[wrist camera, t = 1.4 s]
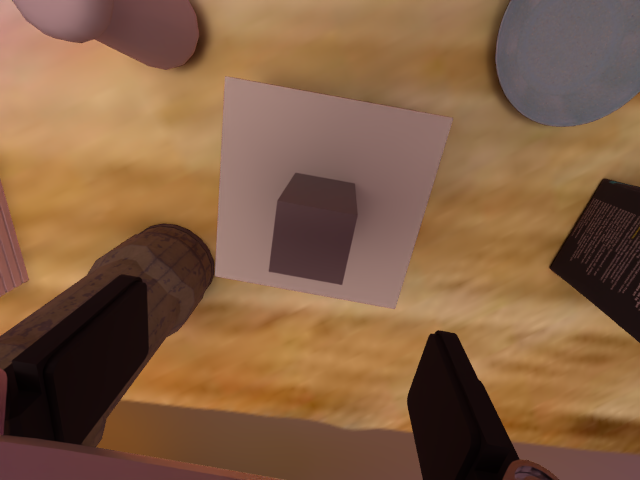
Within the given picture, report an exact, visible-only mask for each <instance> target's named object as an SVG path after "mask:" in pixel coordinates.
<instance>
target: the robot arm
mask: <svg viewBox="0 0 640 480" xmlns="http://www.w3.org/2000/svg"><path fill="white" fill-rule="evenodd" d="M148 351H149V335H148V303H147V285H146V283H144V282H142V279H141V278H140V277H136V276H130V275H125V274H121V275H119V276H118V277H116V278H115V279H114V280H113V281H111V282H110V283H109V284H108V285H106V286H105V287H104V288H103V289H101V290H100V291H99V292H97V293H96V294H95V295H94V296H92V297H91V298H90V299H89V300H87V301H86V302H85V303H84V304H82V305H81V306H80V307H79V308H77V309H76V310H75V311H73V312H72V313H71V314H70V315H68V316H67V317H66V318H65V319H63V320H62V321H61V322H60V323H58V324H57V325H56V326H55V327H53V328H52V329H51V330H50V331H48V332H47V333H46V334H44V335H43V336H42V337H41V338H39V339H38V340H37V341H36V342H34V343H33V344H32V345H31V346H29V347H28V348H27V349H26V350H24V351H23V352H22V353H20V354H19V355H18V356H17V357H15V358H14V359H13V360H12V363H11V364H10V365H9V366H7V367H6V368H5V369H4V370H2V369H1V368H0V480H283V479H277V478H271V477H265V476H260V475H255V474H249V473H243V472H237V471H232V470H226V469H220V468H214V467H209V466H202V465H196V464H191V463H186V462H180V461H174V460H168V459H162V458H155V457H150V456H144V455H138V454H132V453H125V452H120V451H114V450H108V449H102V448H96V447H90V446H83V445H81V443H82V442H83V441H84V439H85V438H86V437H87V435H88V434H89V433H90V432H91V430H92V429H93V428H94V426H95V425H96V424H97V422H98V421H99V420H100V418H101V417H102V416H103V414H104V413H105V412H106V410H107V409H108V408H109V406H110V405H111V404H112V402H113V401H114V400H115V399H116V397H117V396H118V395H119V393H120V392H121V391H122V389H123V388H124V387H125V385H126V384H127V383H128V381H129V380H130V379H131V377H132V376H133V375H134V373H135V372H136V371H137V369H138V368H139V367H140V365H141V364H142V363H143V362H144V360H145V359H146V357H147V354H148ZM407 405H408V410H409V415H410V420H411V425H412V430H413V434H414V439H415V444H416V449H417V453H418V458H419V463H420V468H421V472H422V477H423V480H559V479H558V478H557V477H556V476H555V475H554V474H552V473H551V472H550V471H549V470H547V469H546V468H544V467H542V466H541V465H539V464H537V463H534V462H531V461H529V460H520V459H519V457H518V455H517V453H516V451H515V449H514V447H513V445H512V443H511V441H510V439H509V437H508V435H507V432H506V430H505V428H504V426H503V424H502V422H501V420H500V418H499V416H498V414H497V412H496V410H495V408H494V406H493V404H492V402H491V400H490V398H489V396H488V394H487V392H486V390H485V387H484V385H483V384H482V382H481V381H479V380H478V378H477V376H476V374H475V371H474V369H473V367H472V365H471V363H470V361H469V359H468V357H467V355H466V353H465V351H464V349H463V347H462V344H461V342H460V340H459V338H458V336H457V335H456V334H455V333H450V332H445V331H439V330H438V331H436V332H435V334H430V335H429V337H428V340H427V343H426V346H425V348H424V351H423V354H422V357H421V360H420V362H419V365H418V368H417V371H416V374H415V376H414V379H413V382H412V385H411V388H410V390H409V393H408V398H407Z"/></svg>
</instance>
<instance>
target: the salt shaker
mask: <svg viewBox="0 0 640 480" xmlns="http://www.w3.org/2000/svg"><path fill="white" fill-rule="evenodd" d="M12 1H13V2H14V4H15V5H16V7H17V8H18V9H19V11H20V12H21V14H22V15H23V17H24V18H25V19H26V20H27V21H28V22H29V23H30V24H32V25H33V26H34V27H36V28H37V29H38V30H40V31H41V32H42V33H44V34H46V35H48V36H51V37H53V38H56V39H61V40H65V41H70V42H77V43H83V42H87V41H90V40H93V39H95V40H97V41H99V42H101V43H103V44H105V45H107V46H109V47H111V48H113V49H115V50H117V51H119V52H121V53H123V54H125V55H127V56H129V57H131V58H133V59H135V60H137V61H140V62H142V63H144V64H146V65H148V66H151V67H155V68H160V69H164V70H167V69H171V68H174V67H178V66H181V65H184V64H185V63H186V62H187V61H188V59H189V58H190V57H191V56H192V55H193V54H194V52H195V49H196V45H197V42H198V38H199V29H198V22H197V16H196V13H195V11H194V10H193V8H192V6H191V4H190V2H189V0H12Z"/></svg>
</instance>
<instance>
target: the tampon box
mask: <svg viewBox="0 0 640 480" xmlns="http://www.w3.org/2000/svg"><path fill="white" fill-rule="evenodd" d="M550 269H551V270H552V271H553V272H555V273H556V274H557V275H559V276H560V277H561V278H562V279H564V280H565V281H566V282H568V283H569V284H570V285H571V286H572V287H574V288H575V289H576V290H577V291H578V292H580V293H581V294H582V295H583V296H585V297H586V298H587V299H588V300H589V301H591V302H592V303H593V304H594V305H595V306H597V307H598V308H599V309H600V310H601V311H603V312H604V313H605V314H606V315H607V316H609V317H610V318H611V319H612V320H613V321H614V322H616V323H617V324H618V325H619V326H620V327H622V328H623V329H624V330H625V331H626V332H628V333H629V334H630V335H631V336H632V337H634V338H635V339H636V340H637V341H638V342H639V343H640V187H637V186H633V185H629V184H625V183H621V182H616V181H612V180H608V179H604V180H603V181H602V183H601V184H600V186H599V188H598V189H597V191H596V193H595V194H594V196H593V198H592V199H591V201H590V203H589V204H588V206H587V208H586V209H585V211H584V213H583V214H582V216H581V218H580V219H579V221H578V223H577V224H576V226H575V227H574V229H573V231H572V232H571V234H570V236H569V237H568V239H567V241H566V242H565V244H564V246H563V247H562V249H561V251H560V252H559V254H558V256H557V257H556V259H555V261H554V262H553V264H552V266H551V267H550Z"/></svg>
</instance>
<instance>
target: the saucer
mask: <svg viewBox="0 0 640 480" xmlns="http://www.w3.org/2000/svg"><path fill="white" fill-rule="evenodd" d="M495 56H496V57H495V63H496V69H497V75H498V78H499V82H500V85H501V87H502V90H503V91H504V94H505V95H506V97H507V98H508V100H509V102H510V103H511V104H512V105H513V106H514V107H515V108H516V109H517V110H518V111H519V112H520V113H521V114H522V115H524V116H525V117H527V118H529V119H530V120H533V121H535V122H537V123H540V124H544V125H549V126H556V127H566V126H576V125H582V124H586V123H589V122H593V121H595V120H598V119H600V118H603V117H604V116H607V115H609V114H611V113H612V112H614V111H616V110H617V109H619V108H621V107H622V106H623V105H625V104H626V103H627V102H628V101H630V100H631V99H632V98H633V97H634V96H636V95H637V94H638V93H639V92H640V0H510V2H509V4H508V7H507V9H506V11H505V13H504V16H503V19H502V21H501V25H500V28H499V32H498V37H497V44H496V54H495Z"/></svg>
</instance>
